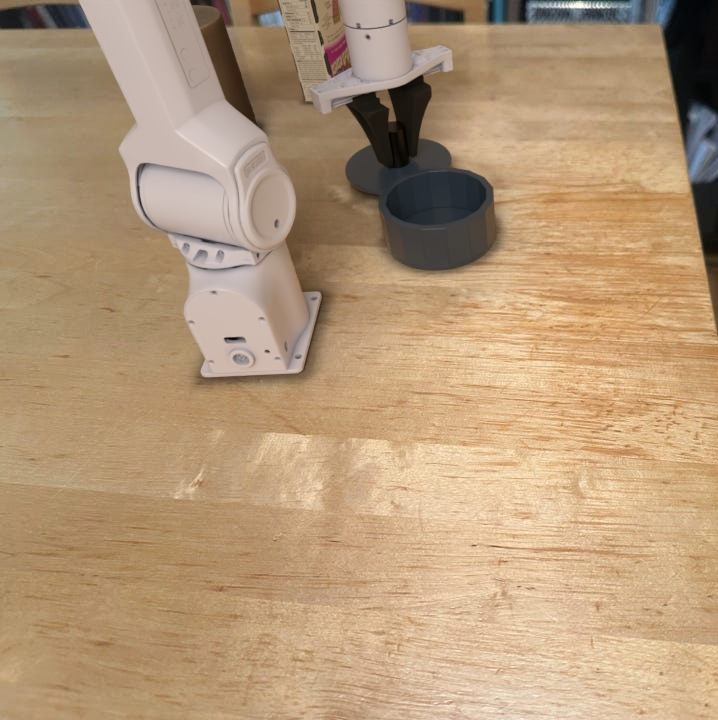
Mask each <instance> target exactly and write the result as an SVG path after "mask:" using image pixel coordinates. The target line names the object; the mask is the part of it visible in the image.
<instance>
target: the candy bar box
mask: <svg viewBox="0 0 718 720" xmlns="http://www.w3.org/2000/svg"><path fill="white" fill-rule="evenodd" d="M276 1H277V5H278V8H279V12H280V16H281V19H282V22H283V26H284V29H285V33H286V37H287V40H288V44H289V48H290V52H291V56H292V59H293V62H294V67H295V70H296V74H297V77H298V80H299V81H298V82H299V84H300V89H301V92H302V95H303V96H302V97H303V99H304V101H305V103H310V104H313V102H312V98H311V94H310V90H309V88H311V87H314V86H317V85H319V84H321V83H323V82H325V81H327V80H329V79H331V78H333V77H335V76H336V75H338V74H340V73H342V72H344V71H346V70H347V69H349V68H351V67H352V66H351V61H350V56H349V51H348V46H347V41H346V36H345V31H344V26H343V20H342V15H341V10H340V5H339V0H276Z"/></svg>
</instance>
